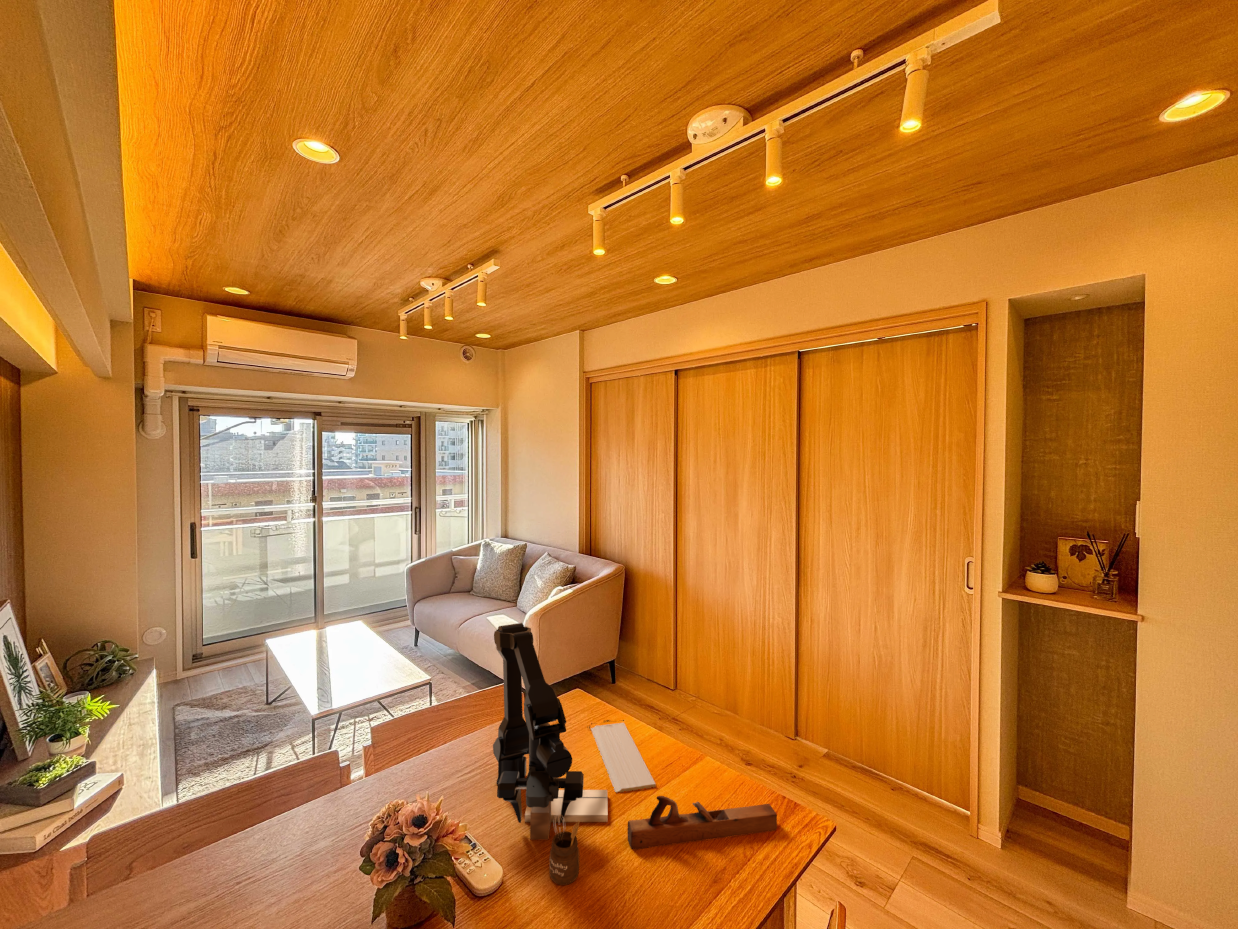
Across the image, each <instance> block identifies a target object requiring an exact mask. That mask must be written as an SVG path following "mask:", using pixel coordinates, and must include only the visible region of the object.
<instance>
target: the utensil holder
mask: <svg viewBox="0 0 1238 929" xmlns="http://www.w3.org/2000/svg"><path fill="white" fill-rule="evenodd" d="M560 815H561V814H560ZM556 816H558V821H559V822H558V823H560V820H559V814H558V815H556ZM562 817H563V816H562ZM555 818H557V817H555ZM563 818H564V817H563ZM561 819H562V818H561ZM564 820H565V819H564ZM562 821H563V820H562ZM552 823H553V824H554V825H556V823H557V822H556V821H555V822H554V821H553V822H552ZM562 824H565V822H564V821H563V822H562ZM579 825H580V822H579V821H578V822H575V824H573V826H572V831H567V830H565V829H566V826H565V825H562V826H563V831H561V828H559V829H557V827H554V830H553V831H554V832H556V833H555V834H554V836H553V838H552V841H551V848H550V851H549V876H550V879H551V881H553V882H554V883H555V884H556V885H560V886H566V885H569V884H572V883H573V882H574V881H575V880H576V879H578V878H577V877H578V876H579V872H580V871H579V870H580V850H579V846H578V845H579V844H578V843H579V842H578V837H577V834H578V832H579V831H578V830H579V827H580V826H579ZM558 830H559V832H558Z"/></svg>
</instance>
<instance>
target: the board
mask: <svg viewBox="0 0 1238 929" xmlns="http://www.w3.org/2000/svg"><path fill="white" fill-rule="evenodd" d="M563 795H564V789H559V793H558V798H557V799H554V800H553V801H551V823H553V821H554V823H555V821H556V823H560V822H559V821H558V816H556V815H558V814H559V820H560V816H561V815H560V814H561V808H562V802H563ZM608 805H609V804H608V789H583V797H581V798H577V799H576V800H575V801H571V802H570V804H569V806H568V808H567V810H566V813H565V816H564V819H565V820H564V819H563V821H564V823H578V821H579V823H608V815H609V814H608ZM555 817H557V818H555ZM530 819H531V808H530V807H528V806H527V805H526V808H525V813H524V822H525V823H530Z"/></svg>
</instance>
